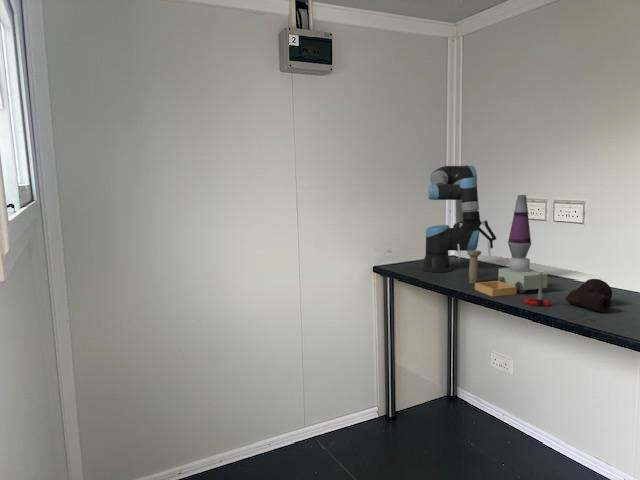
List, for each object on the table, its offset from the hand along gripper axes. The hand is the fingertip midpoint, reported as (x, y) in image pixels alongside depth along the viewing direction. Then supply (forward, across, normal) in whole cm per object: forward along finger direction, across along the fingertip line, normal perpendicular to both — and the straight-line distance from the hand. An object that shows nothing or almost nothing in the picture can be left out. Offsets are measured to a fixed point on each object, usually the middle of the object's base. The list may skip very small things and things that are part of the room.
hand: (474, 256), depth 215 cm
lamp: (+13, +19, +10) cm, 25 cm away
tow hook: (+18, +19, -31) cm, 40 cm away
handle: (+12, -2, -2) cm, 13 cm away
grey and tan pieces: (+15, +12, -13) cm, 23 cm away
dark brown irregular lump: (+20, +38, -32) cm, 53 cm away
